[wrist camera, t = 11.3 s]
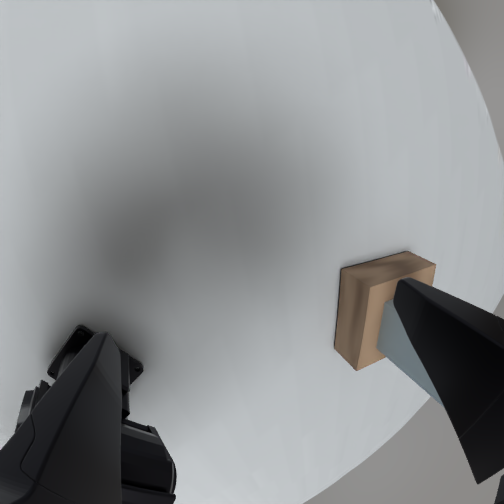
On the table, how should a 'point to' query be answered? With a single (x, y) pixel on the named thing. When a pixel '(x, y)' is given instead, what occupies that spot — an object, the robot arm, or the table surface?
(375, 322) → the tan flat square block
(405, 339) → the slate block
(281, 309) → the table surface
